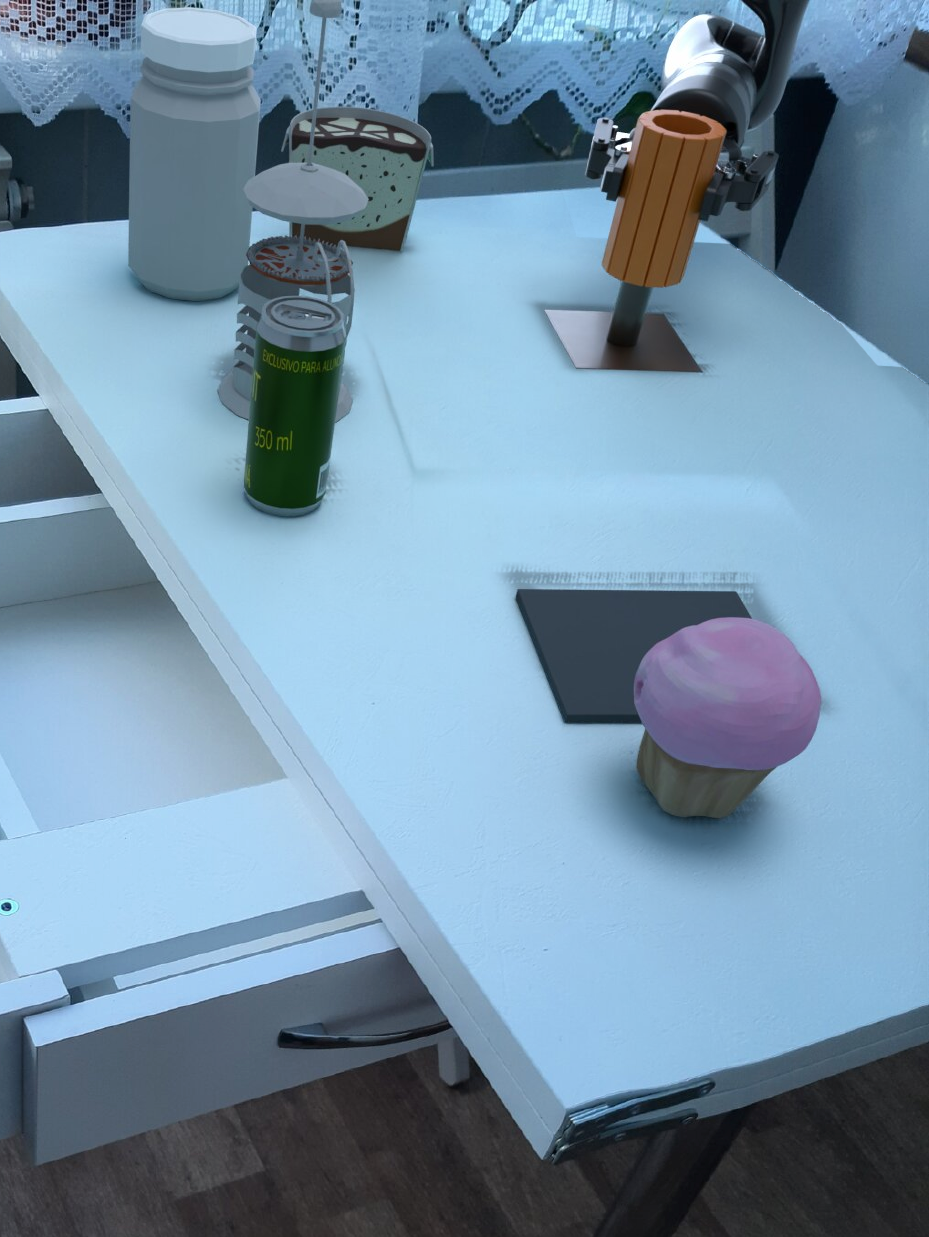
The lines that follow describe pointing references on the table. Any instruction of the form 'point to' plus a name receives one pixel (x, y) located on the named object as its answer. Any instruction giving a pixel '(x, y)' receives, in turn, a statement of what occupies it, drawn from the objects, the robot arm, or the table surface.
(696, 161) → the orange hollow cylinder
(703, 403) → the table surface
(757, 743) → the cupcake
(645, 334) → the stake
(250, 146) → the jar
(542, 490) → the table surface
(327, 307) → the beer can
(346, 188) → the french press
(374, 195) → the food container
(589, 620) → the mat
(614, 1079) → the table surface
